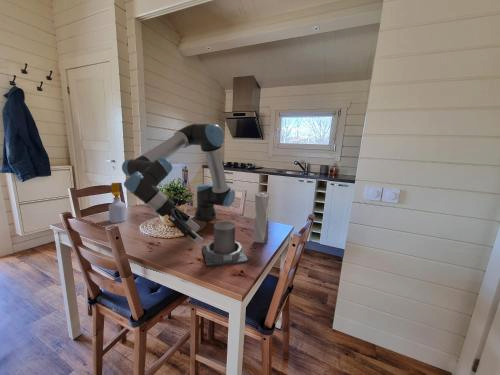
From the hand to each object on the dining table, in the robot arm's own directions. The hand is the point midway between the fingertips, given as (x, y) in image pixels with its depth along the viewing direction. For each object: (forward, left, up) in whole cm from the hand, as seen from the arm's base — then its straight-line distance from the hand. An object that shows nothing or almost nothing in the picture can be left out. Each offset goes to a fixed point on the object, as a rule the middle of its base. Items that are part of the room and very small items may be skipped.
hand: (199, 235), depth 93 cm
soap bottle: (-57, -45, -11) cm, 73 cm away
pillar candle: (+1, +11, -10) cm, 15 cm away
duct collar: (0, +11, -11) cm, 15 cm away
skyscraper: (-10, +33, -11) cm, 36 cm away
